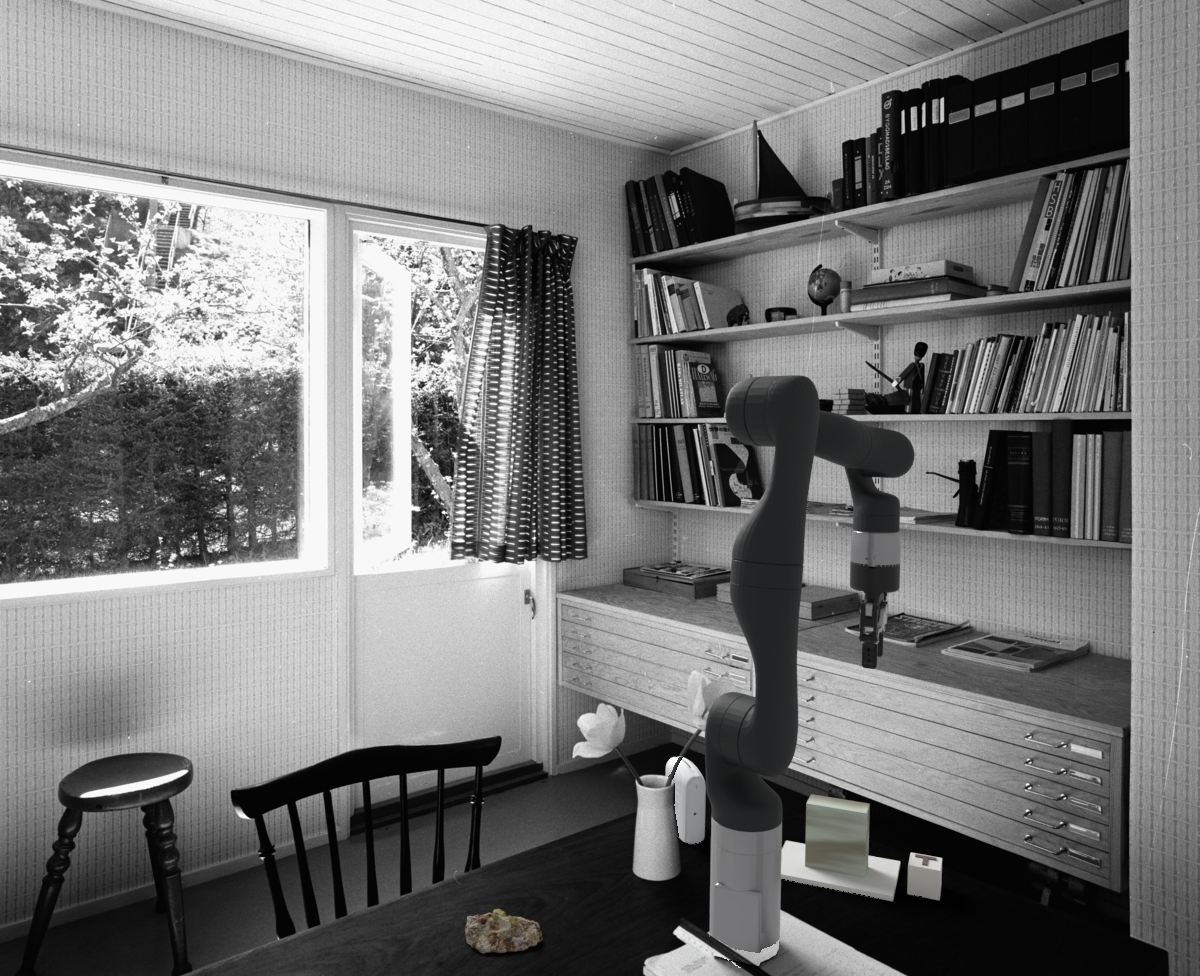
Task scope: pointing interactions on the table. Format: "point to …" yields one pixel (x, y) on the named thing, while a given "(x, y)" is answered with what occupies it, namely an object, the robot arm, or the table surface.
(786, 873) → the mat
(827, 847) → the pale green rectangular block
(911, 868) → the letter cube
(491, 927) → the mineral rock
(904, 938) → the table surface
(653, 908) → the table surface
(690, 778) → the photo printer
